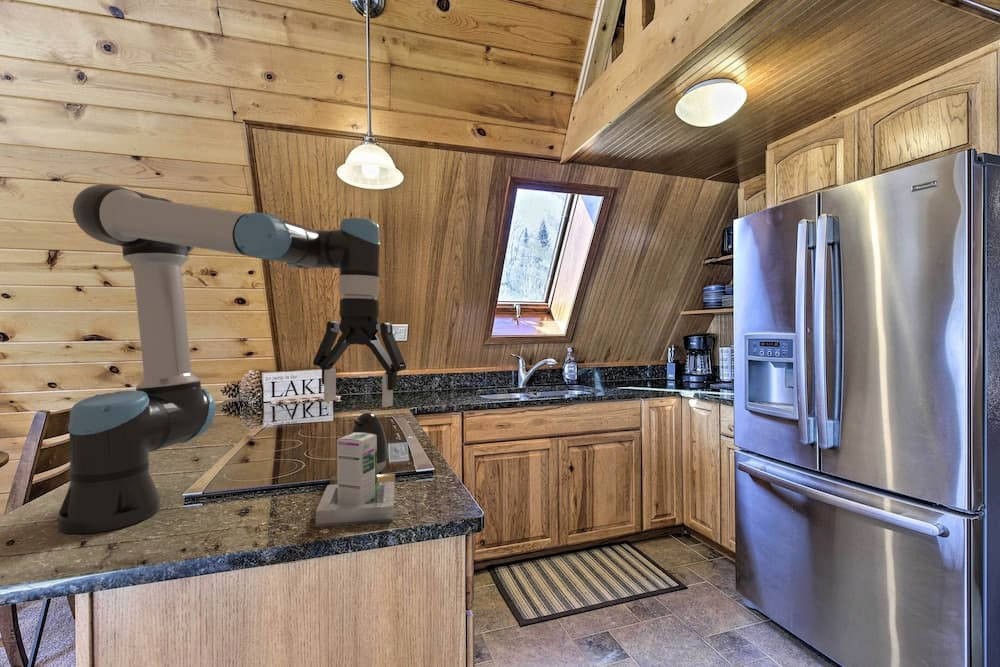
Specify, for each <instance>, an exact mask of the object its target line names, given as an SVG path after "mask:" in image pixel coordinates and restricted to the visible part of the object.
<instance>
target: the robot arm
mask: <svg viewBox="0 0 1000 667" xmlns="http://www.w3.org/2000/svg"><path fill="white" fill-rule="evenodd" d="M72 213H73V218H74V220H75V222H76V224H77V226H78V227H79V228H80V229H81V230H82V231H83V232H84V233H85V234H86V235H87V236H89V237H90V238H92V239H94V240H96V241H99V242H102V243H106V244H110V245H112V246H113V245H115V246H121V248H122V251H121V252H122V257H123V260H124V261H125V262H127V263H128V264H130V265H131V267H132V268H133V270H132V271H133V277H134V288H135V298H136V299H135V300H136V301H135V302H136V309H137V310H136V312H137V320H138V327H139V328H138V329H139V330H138V331H139V339H140V348H141V349H140V350H141V359H142V360H141V362H142V369H143V370H142V372H143V378H142V380H141V381H140V382H139V383H138V384H137V385H136V386H135V390H123V391H122V390H118V391H115V392H107V393H106V392H105V393H101V394H97V395H93V396H90V397H87V398H84V399H82V400H80V401H77V403H75V404H73V406H72V407H71V410H70V412H69V423H68V426H67V430H68V432H69V433H68V434H69V474H70V476H69V477H70V478H69V480H70V482H69V486H68V489H67V492H66V494H65V496H64V499H63V502H62V504H61V507H60V509H59V512H58V514H57V515H58V516H57V529H58V530H59V531H60V532H62V533H66V534H74V535H77V534H78V535H81V534H82V535H83V534H95V533H102V532H108V531H112V530H117V529H121V528H125V527H127V526H131V525H132V526H133V525H135V524H137V523H140V522H143V521H144V520H147V519H149V518H150V517H151V518H152V516H154V515H155V514H157V513H158V512H159V510H161V500H160V499H161V498H160V494H159V492H158V490H157V487H156V485H155V483H154V480H153V478H152V475H151V473H150V467H149V465H150V463H149V462H150V461H149V453H151V452H154V451H158V450H160V449H161V450H162V449H163V448H168V447H170V446H173V445H177V444H184V443H187V442H189V441H191V440H193V439H195V438H197V437H200V436H202V435H203V434H205V433H206V432H207V430H209V428H210V427H211V426H212V424H213V421H214V419H215V415H216V405H215V404H216V403H215V399H214V397H213V396H212V395H211V394H210V392H209V391H208V390H207V389H205V388H203V387H202V385H201V384H202V383H201V379H200V378H199V377H198V376H197V375H194V373H193V372H192V366H191V353H190V352H191V351H190V346H189V344H190V342H189V336H188V335H189V333H188V324H187V314H186V313H187V312H186V304H185V293H184V292H185V291H184V290H185V289H184V282H183V281H184V280H183V272H182V267H183V266H184V264H186V262H188V260H189V253H190V252H192V251H193V249H194V248H196V249H203V250H211V251H216V252H221V253H227V254H232V255H233V254H234V255H241V256H246V257H251V258H255V259H260V260H265V261H274V262H281V263H285V264H286V265H287V266H289V267H290V268H296V269H297V268H298V269H304V270H307V269H330V268H331V269H339V270H340V271H339V272H340V273H339V295H340V296H342V298H340V299H339V316H340V319H341V320H340V322H339V321H338V320H334V321H333V320H332V321H329V320H328V321H327V322H326V329H325V334H324V336H323V338H322V340H321V343H320V345H319V347H318V350H317V351H316V354H315V356H314V359H313V361H312V364H313V365H314V366H315V367H316V366H317V367H319V368H320V369H321V383H322V385H323V402H325V403H328V402H333V401H336V399H337V395H336V394H337V383H336V382H337V368H335V364H336V363H337V361H338V360H339V359H340V358H341V357H342V355H343V354H344V352H345V351H346V350H347V349H348V347H349V346H350V345H359V346H362V345H363V346H364V345H365V346H366V347H368V348H369V349H370V350H371V352H372V353H373V355H374V356H375V358H376V359H377V361H378V362H379V364H380V365H381V367H382V368H383V369H384V370H385V372H384V373H382V382H381V383H382V385H381V386H382V388H381V390H382V391H381V392H382V396H381V408H388V407H392V406H394V391H395V390H396V389H397V385H398V384H397V381H398V379H397V378H398V376H397V375H398V373H399V372H402V371H405V370H406V369H407V365H406V363H405V359H404V357H403V355H402V353H401V350H400V347H399V346H398V343H397V340H396V338H395V336H394V331H393V324H392V323H391V322H381V323H379V322H378V319H379V309H380V305H379V304H380V301H379V300H378V299H377V297H379V294H380V254H381V253H380V252H381V250H380V248H381V239H380V226H379V224H378V222H376V221H374V220H371V219H368V218H361V217H348V218H343V219H342V220H341V222H340V226H339V229H335V230H334V229H333V230H322V229H321V230H319V229H318V230H316V229H313V228H310V227H306V226H303V225H300V224H297V223H293V222H290V221H288V220H284V219H282V218H279V217H278V216H276V215H274V214H267V213H263V212H256V211H255V212H249V213H247V212H241V211H235V210H229V209H228V210H227V209H220V208H213V207H207V206H201V205H193V204H189V203H187V204H186V203H181V202H173V201H172V200H170V199H167V198H163V197H158V196H153V195H150V194H146V193H144V192H140V191H136V190H132V189H129V188H125V187H123V186H118V185H114V184H113V185H112V184H95V185H91V186H89V187H87V188H86V187H85V189H83V190H81V191H80V192H79V193H78V194H77V195H76V197H75V198H74V200H73V203H72ZM339 332H341V334H340V335H339ZM377 333H379V334H380V336H381V339H382V342H383V344H384V346H383V345H382V342H381V340H380V338H379V337H378V336H377ZM338 335H339V337H338ZM337 338H338V339H337ZM335 342H336V344H335ZM334 344H335V345H334ZM384 347H385V348H384Z"/></svg>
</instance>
